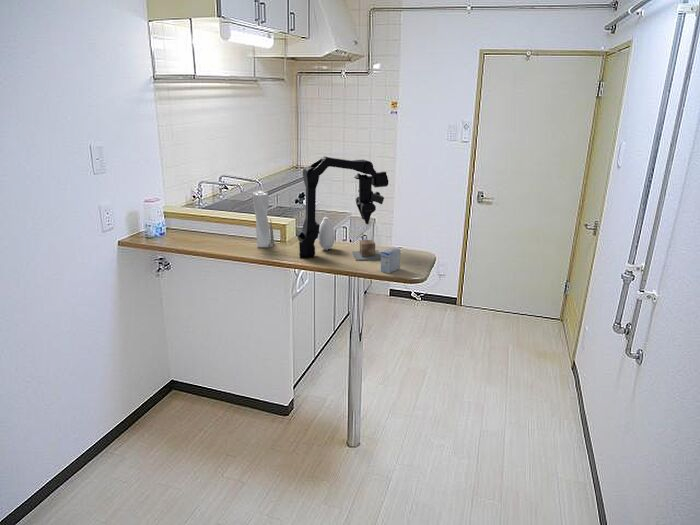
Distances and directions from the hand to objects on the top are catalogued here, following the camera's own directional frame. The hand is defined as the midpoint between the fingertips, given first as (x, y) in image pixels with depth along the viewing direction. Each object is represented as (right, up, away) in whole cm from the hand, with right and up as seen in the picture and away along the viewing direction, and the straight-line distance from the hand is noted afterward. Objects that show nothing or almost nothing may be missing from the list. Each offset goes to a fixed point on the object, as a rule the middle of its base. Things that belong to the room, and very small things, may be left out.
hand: (365, 221), depth 232 cm
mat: (+1, -16, -6) cm, 17 cm away
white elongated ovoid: (-18, -13, +4) cm, 23 cm away
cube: (+1, -15, -6) cm, 17 cm away
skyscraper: (-48, -11, +10) cm, 51 cm away
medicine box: (+10, -22, -24) cm, 34 cm away
